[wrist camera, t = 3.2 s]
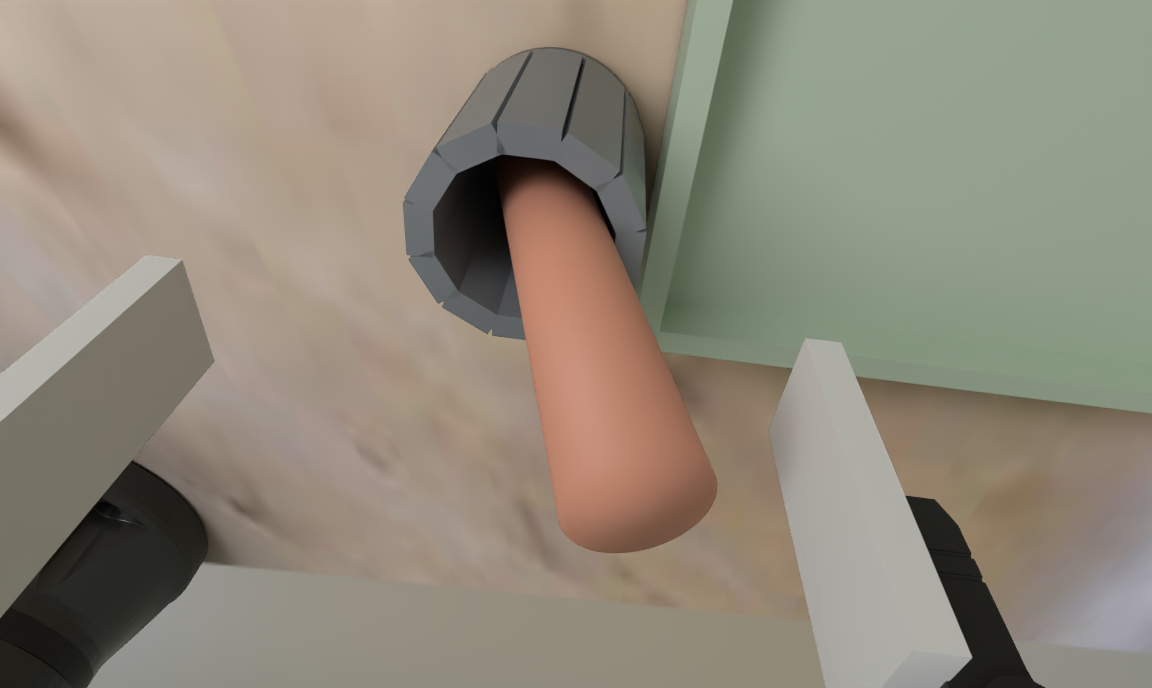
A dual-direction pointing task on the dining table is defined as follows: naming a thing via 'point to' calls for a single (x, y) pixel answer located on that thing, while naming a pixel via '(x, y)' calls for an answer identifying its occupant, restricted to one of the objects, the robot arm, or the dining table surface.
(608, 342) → the pin
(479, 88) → the cup
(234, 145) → the dining table surface
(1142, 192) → the tray
